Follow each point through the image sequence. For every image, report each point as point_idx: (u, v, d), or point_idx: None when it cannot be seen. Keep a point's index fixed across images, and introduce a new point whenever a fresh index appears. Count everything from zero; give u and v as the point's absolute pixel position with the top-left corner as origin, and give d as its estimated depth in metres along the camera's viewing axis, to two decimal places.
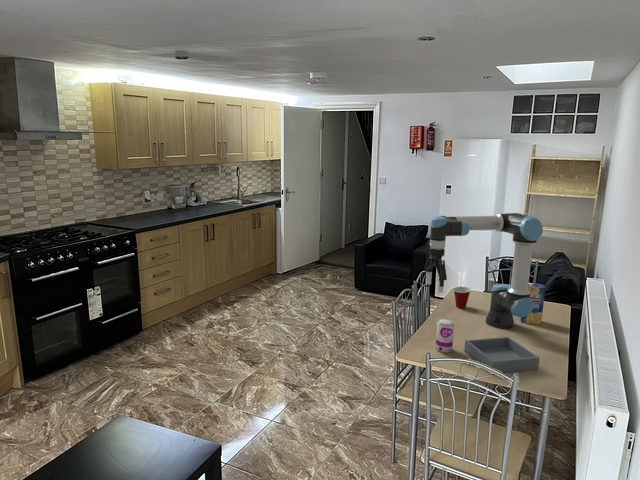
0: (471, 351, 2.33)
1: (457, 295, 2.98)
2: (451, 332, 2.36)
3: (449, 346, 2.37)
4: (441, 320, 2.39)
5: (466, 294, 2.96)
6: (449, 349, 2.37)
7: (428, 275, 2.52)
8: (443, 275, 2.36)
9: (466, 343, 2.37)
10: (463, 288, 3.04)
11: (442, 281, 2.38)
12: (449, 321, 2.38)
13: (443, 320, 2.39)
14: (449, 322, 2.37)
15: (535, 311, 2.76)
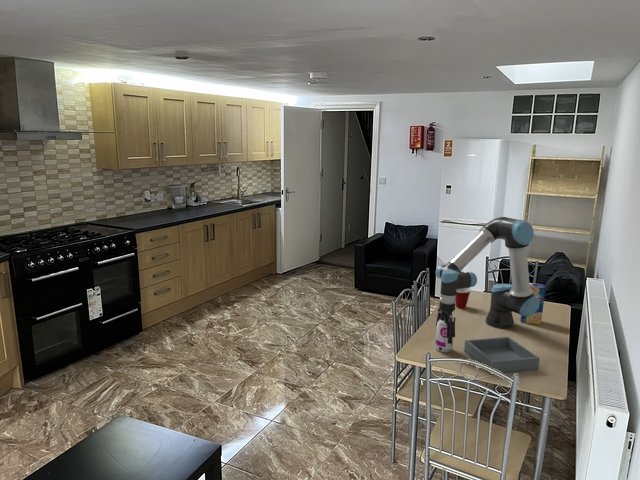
0: (471, 351, 2.33)
1: (457, 295, 2.98)
2: None
3: None
4: (441, 320, 2.39)
5: (466, 294, 2.96)
6: (449, 349, 2.37)
7: None
8: (452, 333, 2.31)
9: (466, 343, 2.37)
10: (463, 288, 3.04)
11: (450, 338, 2.34)
12: None
13: (443, 320, 2.39)
14: None
15: None
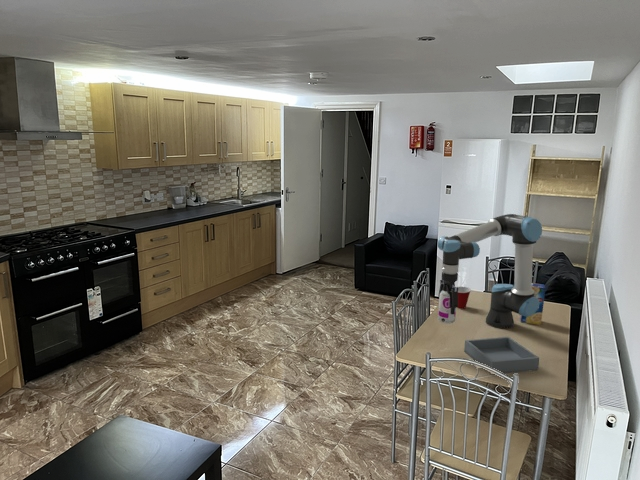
0: (471, 351, 2.33)
1: None
2: None
3: None
4: (443, 291, 2.36)
5: (466, 294, 2.96)
6: (452, 320, 2.34)
7: None
8: (454, 303, 2.28)
9: (466, 343, 2.37)
10: (463, 288, 3.04)
11: (453, 309, 2.31)
12: None
13: (445, 291, 2.36)
14: None
15: None
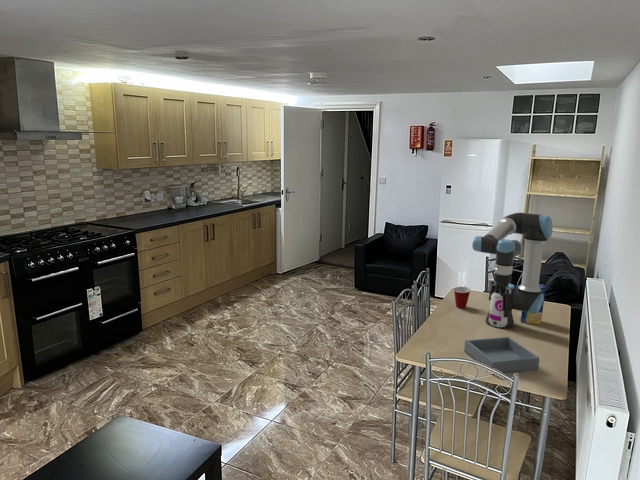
0: (471, 351, 2.33)
1: (457, 295, 2.98)
2: None
3: None
4: (495, 293, 2.26)
5: (466, 294, 2.96)
6: None
7: None
8: (508, 306, 2.18)
9: (466, 343, 2.37)
10: (463, 288, 3.04)
11: (506, 311, 2.20)
12: None
13: (497, 293, 2.26)
14: None
15: None
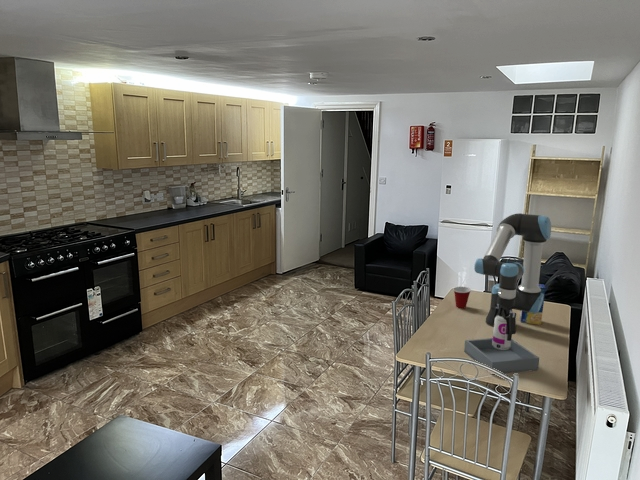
0: (471, 351, 2.33)
1: (457, 295, 2.98)
2: None
3: None
4: (499, 316, 2.27)
5: (466, 294, 2.96)
6: None
7: None
8: (512, 329, 2.19)
9: (466, 343, 2.37)
10: (463, 288, 3.04)
11: (510, 335, 2.22)
12: None
13: (501, 316, 2.27)
14: None
15: None
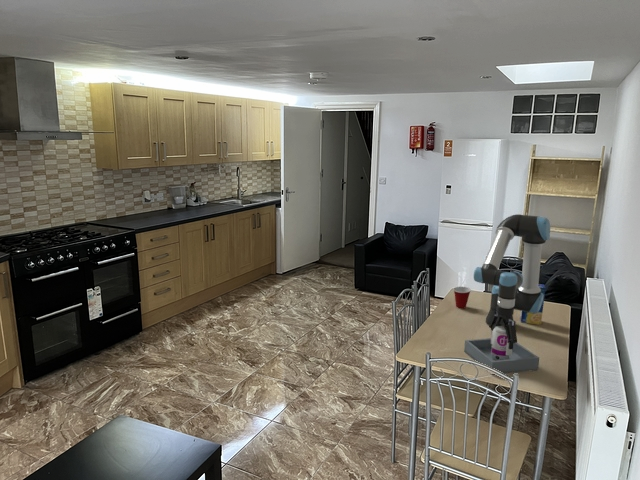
0: (471, 351, 2.33)
1: (457, 295, 2.98)
2: None
3: (506, 355, 2.26)
4: (497, 327, 2.29)
5: (466, 294, 2.96)
6: (506, 358, 2.27)
7: None
8: (513, 337, 2.19)
9: (466, 343, 2.37)
10: (463, 288, 3.04)
11: (512, 343, 2.21)
12: None
13: (499, 327, 2.29)
14: None
15: None
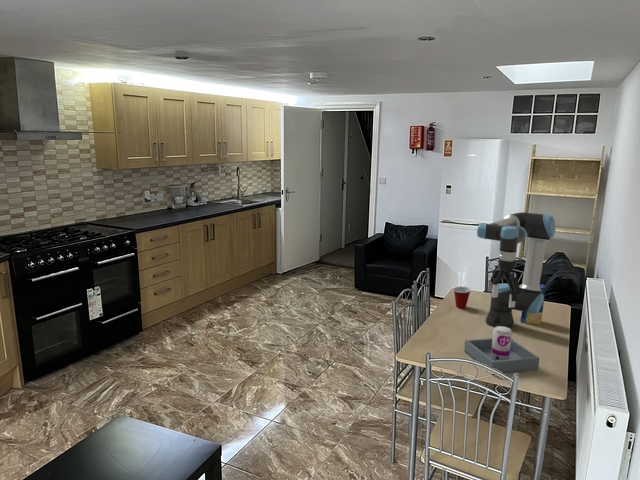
0: (471, 351, 2.33)
1: (457, 295, 2.98)
2: (509, 340, 2.25)
3: (506, 355, 2.26)
4: (497, 328, 2.29)
5: (466, 294, 2.96)
6: (506, 358, 2.27)
7: (495, 288, 2.36)
8: (516, 289, 2.20)
9: (466, 343, 2.37)
10: (463, 288, 3.04)
11: (514, 295, 2.22)
12: (506, 329, 2.28)
13: (499, 328, 2.29)
14: (506, 330, 2.26)
15: None
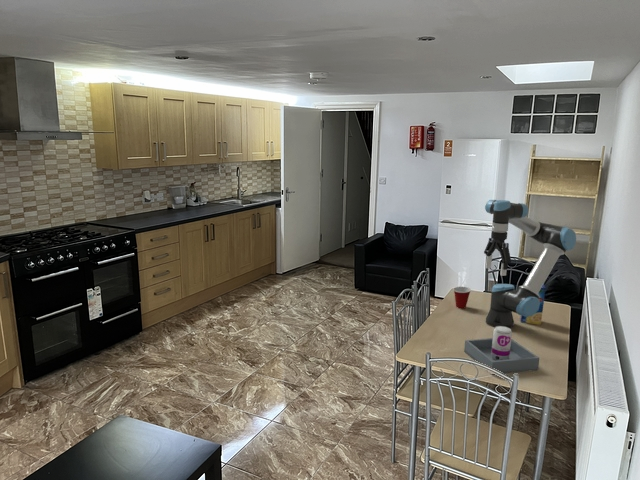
0: (471, 351, 2.33)
1: (457, 295, 2.98)
2: (509, 340, 2.25)
3: (506, 355, 2.26)
4: (498, 328, 2.29)
5: (466, 294, 2.96)
6: (506, 358, 2.27)
7: (488, 259, 2.53)
8: (507, 258, 2.37)
9: (466, 343, 2.37)
10: (463, 288, 3.04)
11: (506, 264, 2.38)
12: (506, 329, 2.28)
13: (500, 328, 2.29)
14: (506, 330, 2.26)
15: None
